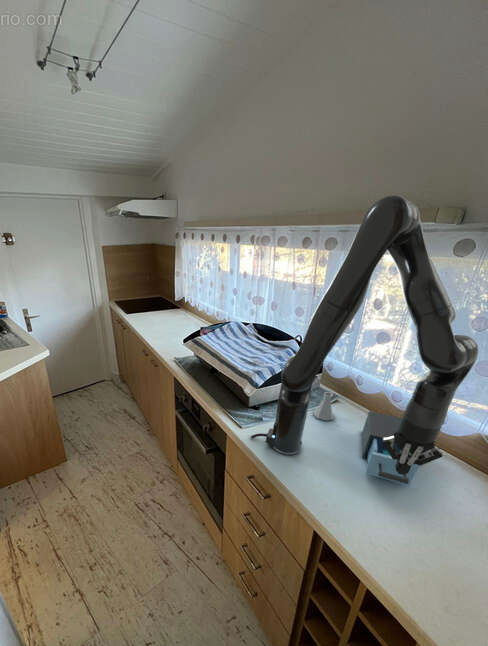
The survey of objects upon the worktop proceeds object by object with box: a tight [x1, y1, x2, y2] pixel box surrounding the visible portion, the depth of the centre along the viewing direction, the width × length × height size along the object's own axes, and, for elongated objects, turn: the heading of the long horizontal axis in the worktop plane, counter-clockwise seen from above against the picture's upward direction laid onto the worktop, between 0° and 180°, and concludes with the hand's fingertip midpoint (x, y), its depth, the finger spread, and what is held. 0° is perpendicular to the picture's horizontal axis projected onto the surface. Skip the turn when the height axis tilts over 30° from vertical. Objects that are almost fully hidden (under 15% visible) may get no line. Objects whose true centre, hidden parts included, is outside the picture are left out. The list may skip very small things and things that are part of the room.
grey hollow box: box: [361, 410, 403, 460], centre depth 101 cm, size 15×13×10 cm
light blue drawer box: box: [364, 437, 420, 487], centre depth 92 cm, size 18×11×8 cm, turn 154°
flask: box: [313, 391, 334, 421], centre depth 119 cm, size 7×7×10 cm
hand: (400, 472), depth 80 cm, fingers closed
